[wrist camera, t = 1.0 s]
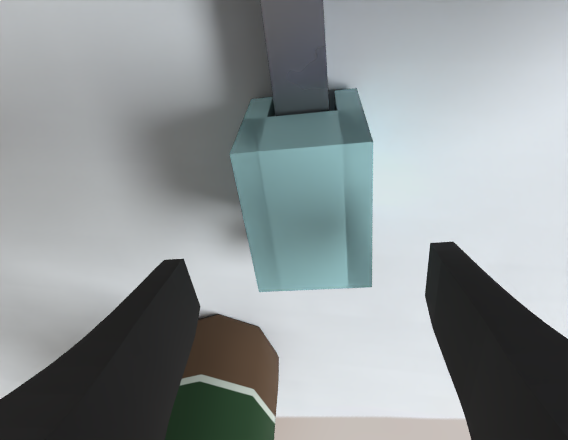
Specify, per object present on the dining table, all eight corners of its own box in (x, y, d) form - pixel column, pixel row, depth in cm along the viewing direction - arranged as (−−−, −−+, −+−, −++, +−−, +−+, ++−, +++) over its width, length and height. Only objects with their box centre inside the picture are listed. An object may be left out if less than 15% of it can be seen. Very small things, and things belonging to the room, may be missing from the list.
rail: (346, -135, 13) (354, -156, 10) (354, 238, 21) (360, 280, 18) (223, -115, 13) (201, -130, 10) (279, 242, 21) (275, 284, 19)
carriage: (356, 88, 16) (373, 141, 12) (358, 210, 20) (371, 287, 15) (251, 99, 17) (229, 153, 12) (270, 215, 20) (259, 292, 16)
